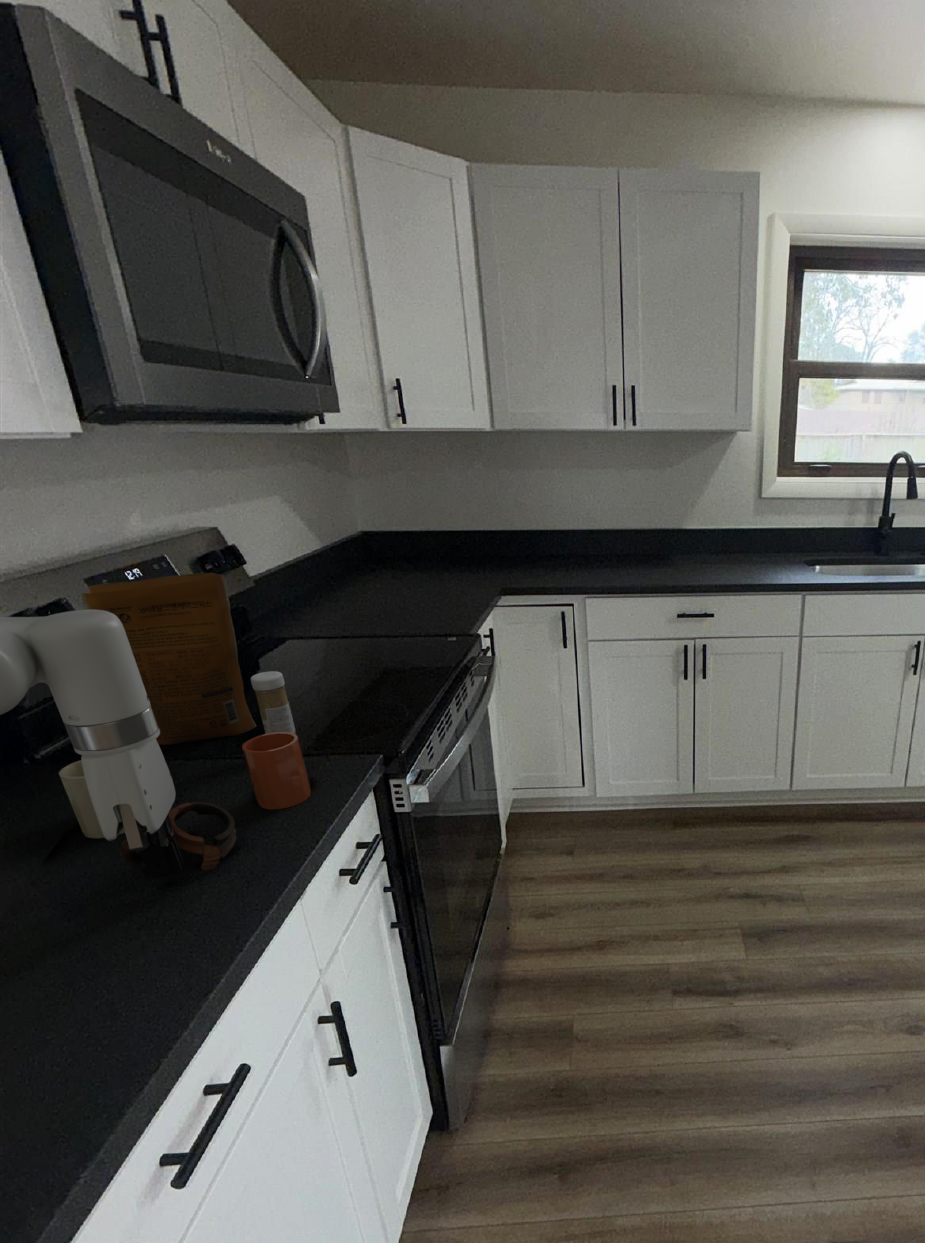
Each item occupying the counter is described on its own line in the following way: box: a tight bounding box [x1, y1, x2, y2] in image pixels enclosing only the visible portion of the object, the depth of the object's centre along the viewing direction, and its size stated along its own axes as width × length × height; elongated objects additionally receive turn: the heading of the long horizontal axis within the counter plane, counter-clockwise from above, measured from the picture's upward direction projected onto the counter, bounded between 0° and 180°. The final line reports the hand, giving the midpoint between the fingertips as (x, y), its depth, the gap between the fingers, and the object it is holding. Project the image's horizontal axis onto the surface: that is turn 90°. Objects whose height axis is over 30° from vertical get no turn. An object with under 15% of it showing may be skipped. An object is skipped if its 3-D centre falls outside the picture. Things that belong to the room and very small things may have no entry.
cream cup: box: [58, 760, 126, 839], centre depth 98 cm, size 7×7×9 cm
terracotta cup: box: [241, 732, 312, 810], centre depth 105 cm, size 7×7×9 cm
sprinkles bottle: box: [250, 670, 297, 735], centre depth 119 cm, size 5×5×14 cm
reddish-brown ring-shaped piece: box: [118, 801, 237, 871], centre depth 90 cm, size 12×10×8 cm
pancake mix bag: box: [80, 572, 257, 746], centre depth 121 cm, size 7×19×28 cm, turn 113°
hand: (167, 871), depth 85 cm, fingers closed
